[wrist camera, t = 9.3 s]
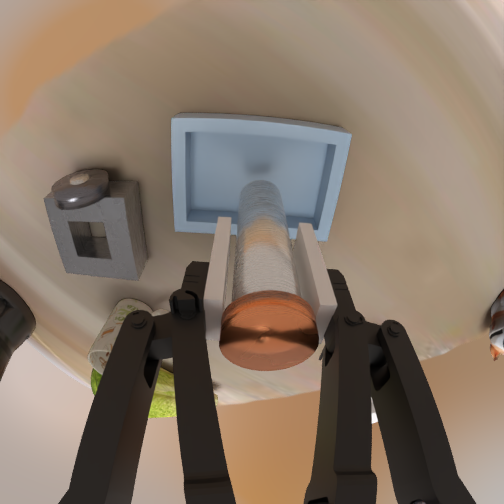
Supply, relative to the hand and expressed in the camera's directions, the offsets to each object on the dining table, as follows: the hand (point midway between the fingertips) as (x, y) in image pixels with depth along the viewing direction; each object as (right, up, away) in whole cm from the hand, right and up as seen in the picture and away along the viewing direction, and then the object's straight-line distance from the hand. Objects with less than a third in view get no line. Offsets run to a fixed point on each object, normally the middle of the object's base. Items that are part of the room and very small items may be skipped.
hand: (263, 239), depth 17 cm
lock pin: (0, +3, +5) cm, 6 cm away
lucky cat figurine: (+53, -12, +24) cm, 59 cm away
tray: (0, +7, +10) cm, 12 cm away
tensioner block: (-18, +3, +12) cm, 22 cm away
